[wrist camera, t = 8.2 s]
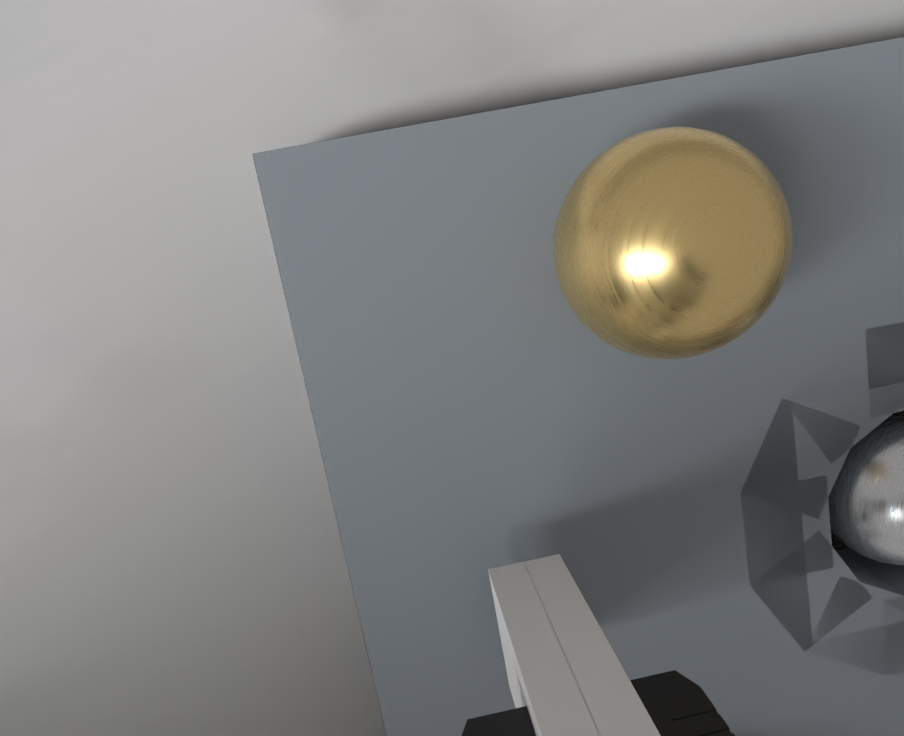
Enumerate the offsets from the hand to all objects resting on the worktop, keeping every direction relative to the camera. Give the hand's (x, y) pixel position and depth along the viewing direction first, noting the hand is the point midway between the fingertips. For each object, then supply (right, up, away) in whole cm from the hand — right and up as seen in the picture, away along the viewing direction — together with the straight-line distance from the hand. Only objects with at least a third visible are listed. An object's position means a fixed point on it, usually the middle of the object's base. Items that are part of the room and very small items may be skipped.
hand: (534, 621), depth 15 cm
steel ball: (+9, +2, +2) cm, 9 cm away
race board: (+5, +2, +4) cm, 6 cm away
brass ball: (+2, +7, -2) cm, 8 cm away
